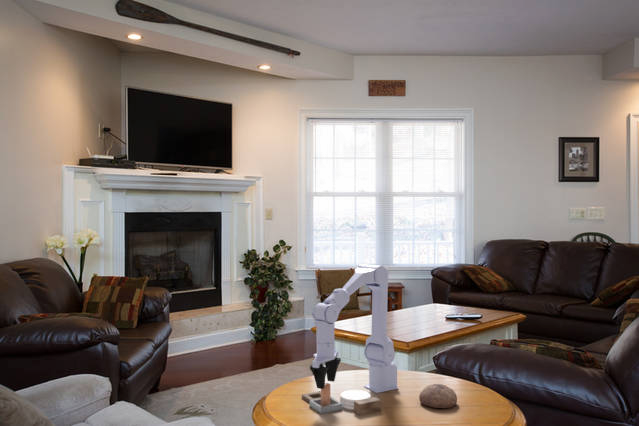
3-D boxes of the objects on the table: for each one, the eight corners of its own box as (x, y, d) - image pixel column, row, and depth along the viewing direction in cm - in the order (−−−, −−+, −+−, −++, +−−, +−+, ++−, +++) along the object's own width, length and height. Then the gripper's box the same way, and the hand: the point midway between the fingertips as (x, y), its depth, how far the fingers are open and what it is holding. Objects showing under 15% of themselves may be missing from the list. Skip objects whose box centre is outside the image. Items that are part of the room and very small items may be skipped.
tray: (330, 402, 175) (330, 396, 175) (342, 410, 168) (342, 403, 168) (309, 406, 171) (309, 400, 171) (320, 414, 165) (320, 408, 165)
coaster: (376, 403, 174) (376, 392, 174) (361, 413, 166) (361, 402, 166) (349, 397, 180) (349, 387, 180) (334, 407, 172) (333, 396, 172)
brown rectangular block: (375, 407, 170) (375, 396, 170) (381, 411, 167) (381, 399, 167) (354, 412, 166) (354, 401, 166) (359, 415, 164) (359, 404, 164)
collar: (320, 394, 183) (320, 391, 182) (330, 401, 176) (330, 397, 176) (301, 398, 179) (301, 394, 179) (311, 404, 173) (311, 401, 173)
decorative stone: (443, 411, 165) (442, 393, 165) (412, 402, 174) (411, 385, 174) (464, 401, 173) (463, 384, 173) (433, 393, 182) (432, 377, 182)
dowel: (323, 404, 172) (323, 382, 172) (332, 405, 170) (331, 383, 170) (319, 407, 169) (319, 385, 169) (327, 409, 168) (327, 386, 168)
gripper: (324, 335, 178) (324, 376, 178) (303, 345, 165) (303, 389, 165) (343, 337, 175) (344, 379, 175) (324, 348, 162) (324, 393, 162)
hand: (325, 384), depth 170 cm, fingers open, 7 cm apart
